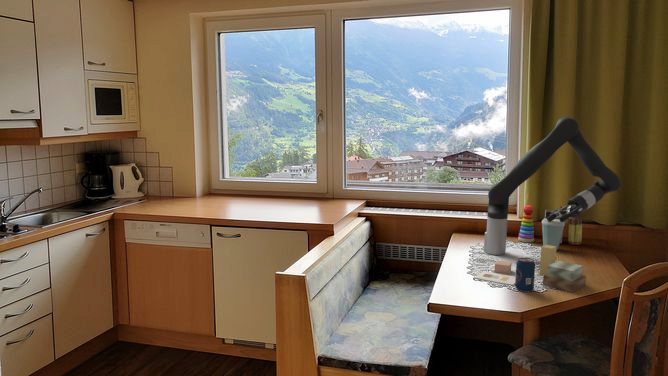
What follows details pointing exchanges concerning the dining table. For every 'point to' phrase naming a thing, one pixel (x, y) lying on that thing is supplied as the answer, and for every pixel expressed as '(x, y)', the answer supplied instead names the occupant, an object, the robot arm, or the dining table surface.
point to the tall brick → (547, 258)
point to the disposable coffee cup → (552, 232)
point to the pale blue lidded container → (548, 213)
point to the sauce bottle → (575, 230)
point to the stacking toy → (527, 225)
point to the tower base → (564, 283)
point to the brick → (502, 267)
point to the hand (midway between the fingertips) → (554, 220)
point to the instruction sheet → (496, 277)
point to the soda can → (525, 274)
